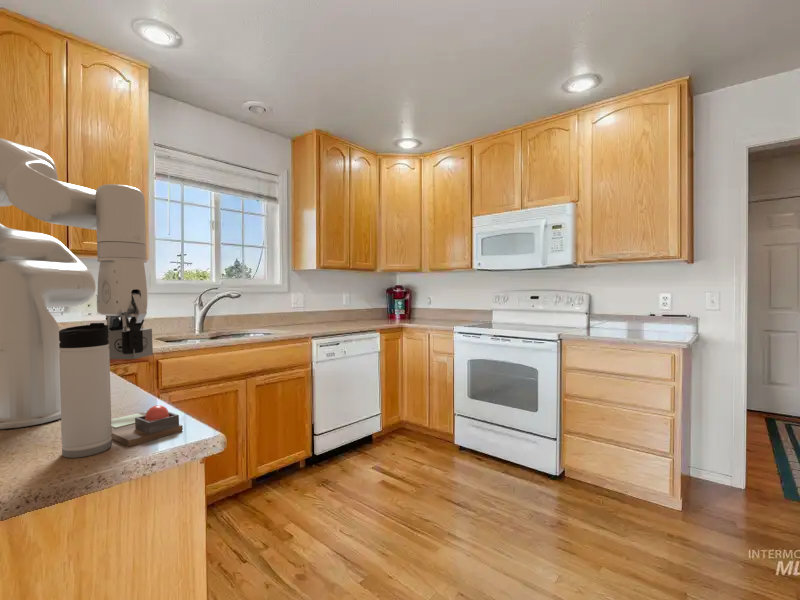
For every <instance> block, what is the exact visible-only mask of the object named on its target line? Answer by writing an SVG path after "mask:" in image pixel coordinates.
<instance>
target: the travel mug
mask: <svg viewBox="0 0 800 600" xmlns="http://www.w3.org/2000/svg"><path fill="white" fill-rule="evenodd" d="M108 337H109V336H108V325H107V324H105V322H93V323H91V322H90V323H89V324H86V325H85V324H83V325H75V326H70V327H66V328H62V329H59V341H60V343H59V351H60V352H59V367H60V400H61V419H60V424H61V425H60V427H61V428H60V430H61V453H62V454H61V455H62V457H64V458H67V459H68V458H69V459H77V458H85V457H90V456H91V457H92V456H94V455H97V454H101V453H103V452H105V451H107V450H109V449H110V448H111V447H112V446H113V441H112V440H113V439H112V437H111V435H112V429H111V419H112V401H111V399H112V398H111V397H112V396H111V369H110V367H111V364H110V362H111V361H110V360H111V359H110V357H109V348H108V347H109V340H108Z"/></svg>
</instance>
